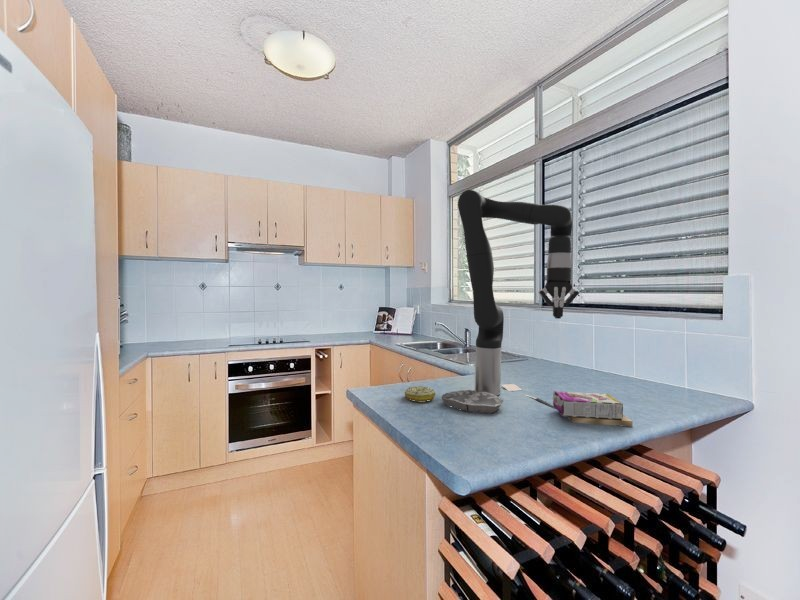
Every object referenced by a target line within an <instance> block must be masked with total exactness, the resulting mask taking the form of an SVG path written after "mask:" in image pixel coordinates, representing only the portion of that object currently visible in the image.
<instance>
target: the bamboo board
mask: <svg viewBox="0 0 800 600" xmlns="http://www.w3.org/2000/svg"><path fill="white" fill-rule="evenodd" d="M566 417H567V418H568V419H569V420H570V422H571V423H573V424H585V425H586V424H588V425H602V426H616V425H622V426H621V427H633V425H634V424H633V420H631V419H630V418H629V417H628V416H626V415H625V414H623V419H622V420H619V419H602V418H585V417H568V416H566Z"/></svg>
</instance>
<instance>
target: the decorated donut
mask: <svg viewBox="0 0 800 600" xmlns="http://www.w3.org/2000/svg"><path fill="white" fill-rule="evenodd" d="M404 395H405V398H406V397H407V398H408V399H411V400H415V401H427V400H431V401H433V400H434V398H435V396H436V391H435V389H433V388H431V387H428V386H421V385H420V386H417V385H416V386H415V385H414V386H410V387H408V388H406V389H405V390H404ZM407 398H406V399H407ZM408 399H407V400H408Z"/></svg>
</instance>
